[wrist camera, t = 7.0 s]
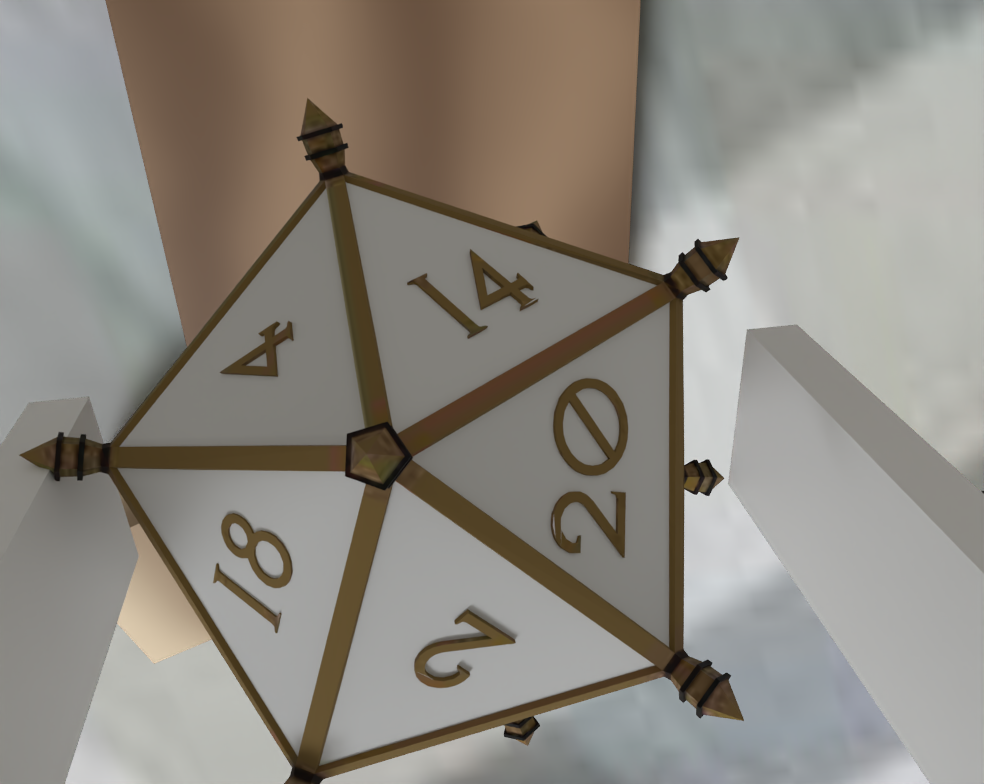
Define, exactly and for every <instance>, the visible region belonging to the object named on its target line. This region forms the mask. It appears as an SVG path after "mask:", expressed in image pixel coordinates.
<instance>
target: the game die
mask: <svg viewBox="0 0 984 784" xmlns="http://www.w3.org/2000/svg"><path fill="white" fill-rule="evenodd" d="M341 128H343V125H342V123H341V124H337V123H336V122H334V121H333V120H332V119H331V118H330V117H329V116H328V115H326V114H325V113H324V112H323V111H322V110H321V109H320V108H318V107H317V106H316V105H315V104H314V103H313V102H312V101H311V100H309V99H308V98H307V102H306V108H305V113H304V119H303V124H302V130H301V135H300V136H298V137H297V140H298V141H301V140H302V142H303V144H304V147H305V149H306V152H307V154H308V155H306V156H304V157H305V159H306V161H307V160H310V161H311V162H312V163H313V165H314V166H315V168H316V169H317V171H318V172H319V182H318V184H317V185H316V186H315V187H314V189H313V190H312V191H311V192H310V194H309V195H308V196H307V197H306V199H305V200H304V201H303V202H302V204H301V205H300V206H299V207H298V209H297V210H296V211H295V212H294V214H293V215H292V216H291V217H290V219H289V220H288V221H287V222H286V224H285V225H284V226H283V227H282V229H281V230H280V231H279V232H278V234H277V235H276V236H275V237H274V239H273V240H272V241H271V242H270V244H269V245H268V246H267V248H266V249H265V250H264V251H263V253H262V254H261V255H260V256H259V258H258V259H257V260H256V261H255V263H254V264H253V265H252V266H251V268H250V269H249V270H248V271H247V273H246V274H245V275H244V276H243V278H242V279H241V280H240V281H239V283H238V284H237V285H236V286H235V288H234V289H233V290H232V291H231V293H230V294H229V295H228V296H227V298H226V299H225V300H224V301H223V303H222V304H221V305H220V306H219V308H218V309H217V310H216V311H215V313H214V314H213V315H212V317H211V318H210V319H209V320H208V322H207V323H206V324H205V325H204V327H203V328H202V329H201V330H200V332H199V333H198V334H197V335H196V337H195V338H194V339H193V340H192V342H191V343H190V344H189V345H188V347H187V348H186V349H185V350H184V352H183V353H182V354H181V355H180V357H179V358H178V359H177V360H176V362H175V363H174V364H173V365H172V367H171V368H170V369H169V370H168V372H167V373H166V374H165V375H164V377H163V378H162V379H161V380H160V382H159V383H158V384H157V386H156V387H155V388H154V389H153V391H152V392H151V393H150V394H149V396H148V397H147V398H146V399H145V401H144V402H143V403H142V404H141V406H140V407H139V408H138V409H137V411H136V412H135V413H134V414H133V416H132V417H131V418H130V419H129V421H128V422H127V423H126V424H125V426H124V427H123V428H122V429H121V431H120V432H119V433H118V434H117V436H116V437H115V438H114V439H113V441H112V442H111V443H106V444H101V443H98V442H95V441H92V440H89V439H86V434H81V436H80V438H74V437H64V432H59V433H58V437H56V438H54V439H52V440H50V441H48V442H45V443H43V444H41V445H39V446H37V447H35V448H33V449H31V450H29V451H26V452H24V453H22V454H20V455H19V456H21V457H23V458H24V459H26V460H28V461H29V462H31V463H33V464H34V465H36V466H38V467H41V468H45V469H49V470H50V471H51V472H52V473H53V474H54V478H55V480H56V481H60V477H77V481H83V476H86V475H90V474H94V473H98V472H102V473H105V474H108V475H109V476H110V478H111V479H112V481H113V483H114V484H115V486H116V487H117V489H118V491H119V492H120V494H121V495H122V497H123V498H124V500H125V502H126V503H127V505H128V506H129V508H130V510H131V511H132V513H133V514H134V516H135V518H136V519H137V521H138V522H139V524H140V526H141V527H142V529H143V530H144V532H145V534H146V535H147V537H148V538H149V540H150V542H151V543H152V545H153V546H154V548H155V549H156V551H157V553H158V554H159V556H160V557H161V559H162V561H163V562H164V564H165V565H166V567H167V569H168V570H169V572H170V573H171V575H172V577H173V578H174V580H175V581H176V583H177V585H178V586H179V588H180V589H181V591H182V593H183V594H184V596H185V597H186V599H187V601H188V602H189V604H190V605H191V607H192V608H193V610H194V612H195V613H196V615H197V616H198V618H199V620H200V621H201V623H202V624H203V626H204V628H205V629H206V631H207V632H208V634H209V636H210V637H211V639H212V640H213V642H214V644H215V645H216V647H217V648H218V650H219V652H220V653H221V655H222V656H223V658H224V659H225V661H226V663H227V664H228V666H229V667H230V669H231V671H232V672H233V674H234V675H235V677H236V679H237V680H238V682H239V683H240V685H241V687H242V688H243V690H244V691H245V693H246V695H247V696H248V698H249V699H250V701H251V703H252V704H253V706H254V707H255V709H256V711H257V712H258V714H259V715H260V717H261V718H262V720H263V722H264V723H265V725H266V726H267V728H268V730H269V731H270V733H271V734H272V736H273V738H274V739H275V741H276V742H277V744H278V746H279V747H280V749H281V750H282V752H283V754H284V755H285V757H286V758H287V760H288V762H289V763H290V765H291V766H292V771H291V775H290V777H289V778H288V780H287V781H286V782H285V783H284V784H320V783H321V781H322V780H323V779H325V778H329V777H332V776H335V775H339V774H342V773H345V772H349V771H352V770H355V769H358V768H362V767H365V766H368V765H372V764H375V763H378V762H382V761H385V760H388V759H392V758H395V757H398V756H402V755H405V754H408V753H412V752H415V751H418V750H422V749H425V748H428V747H432V746H435V745H438V744H442V743H445V742H448V741H452V740H455V739H458V738H461V737H465V736H468V735H471V734H475V733H478V732H481V731H485V730H488V729H491V728H495V727H498V726H501V725H505V731H504V737H508V738H513V739H516V740H518V741H520V742H522V743H524V744H525V745H527V746H528V744H529V742H530V740H531V738H532V735H533V733H534V731H535V730H536V729H537V728H538V727H540V725H539V723H538V722H537V720H536V719H535V718H534V716H535V715H538V714H541V713H545V712H548V711H551V710H554V709H558V708H561V707H564V706H568V705H571V704H574V703H578V702H581V701H584V700H588V699H591V698H594V697H598V696H601V695H604V694H608V693H611V692H614V691H618V690H621V689H624V688H628V687H631V686H634V685H638V684H641V683H644V682H647V681H651V680H654V679H657V678H661V677H666V678H668V679H670V680H671V681H672V682H673V684H674V685H675V687H676V688H677V689H678V691H679V699H680V700H681V701H682V702H683V703H684V702H685V701H686V700H687V701H688V702H689V703H690V704H691V705H693V706H694V707H695V708H696V715H697V716H698V717H699V718H701V717H702V716H703V715H710V716H716V717H723V718H729V719H736V720H742V721H744V719H743V717H742V714H741V711H740V709H739V706H738V704H737V701H736V699H735V696H734V694H733V691H732V689H731V686H730V683H729V681H728V680H729V678H730V677H731V675H729V674H728V673H725V674H723V675H722V674H720V673H719V672H717V671H716V670H715V669H713V668H712V667H711V665H712V662H711V661H709V660H706V661H704V662H702V661H699V660H697V659H694V658H692V657H689V656H688V655H687V653H686V652H685V651H684V649H683V630H684V489H685V490H687V491H689V492H691V493H692V494H695V495H697V494H698V492H701V493H703V494H704V495H706V496H709V495H710V493H711V491H712V489H713V488H714V487H715V486H716V485H717V484H719V483H720V482H721V481H722V480H723V479H724V477H723V476H721V475H720V474H719V473H718V472H717V471H716V470H715V469H714V468H713V467H712V465H711V463H710V461H709V460H705V461H703V462H701V463H698V461H697V460H693V461H691V462H689V463H688V464H686V465H684V388H683V299H684V298H685V297H686V296H687V295H688V294H691V293H694V292H697V291H699V290H703V291H705V292H707V291H709V290H710V288H709V285H710V284H712V283H713V282H715V281H716V280H718V279H719V278H720V279H722V280H723V281H724V280H726V279H727V276H726V274H725V273H726V270H727V268H728V265H729V263H730V260H731V258H732V255H733V253H734V250H735V247H736V245H737V242H738V240H739V238H731V239H724V240H716V241H708V242H701V241H700V240H699V239H697V240H696V241H695V247H694V248H693V249H692V250H691V251H689V252H688V253H687V254H686V255H685V254H684V253H683V252H682V253H681V254H680V255H679V262H678V263H677V265H676V266H675V268H674V269H673V270H672V272H670V273H668V274H665V275H661V274H658V273H655V272H652V271H649V270H646V269H643V268H640V267H637V266H634V265H631V264H628V263H625V262H622V261H619V260H616V259H613V258H610V257H607V256H604V255H601V254H597V253H594V252H591V251H588V250H585V249H582V248H579V247H576V246H573V245H570V244H567V243H564V242H561V241H558V240H555V239H552V238H549V237H547V236H546V235H545V234H544V233H543V232H542V230H541V228H540V225H539V223H538V221H534V222H532V223H530V224H527V225H522V226H516V227H515V226H512V225H509V224H506V223H503V222H500V221H497V220H494V219H491V218H488V217H485V216H482V215H479V214H476V213H473V212H470V211H467V210H463V209H460V208H457V207H454V206H451V205H448V204H445V203H442V202H439V201H436V200H433V199H430V198H427V197H424V196H421V195H418V194H415V193H412V192H409V191H406V190H403V189H400V188H396V187H393V186H390V185H387V184H384V183H381V182H378V181H375V180H372V179H369V178H366V177H363V176H360V175H357V174H354V173H351V172H349V171H348V169H347V167H346V166H345V149H347V148H349V147H348V144H347V143H345V144H343V141H342V137H341V133H340V130H339V129H341Z"/></svg>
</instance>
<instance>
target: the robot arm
mask: <svg viewBox="0 0 984 784" xmlns="http://www.w3.org/2000/svg"><path fill="white" fill-rule="evenodd" d="M59 432H64V437H74V438H80V436H81V434H86V439H89V440H92V441H95V442H98V443H101V444H104V443H103V440H102V437H101V434H100V431H99V427H98V424H97V421H96V418H95V415H94V411H93V408H92V405H91V402H90V399H89V397H81V398H71V399H61V400H51V401H41V402H32V403H28V405H27V407H26V408H25V410H24V411H23V413H22V414H21V416H20V417H19V419H18V420H17V422H16V423H15V425H14V426H13V428H12V429H11V431H10V432H9V434H8V436H7V437H6V439H5V440H4V442H3V443H2V445H1V446H0V784H65V781H66V778H67V775H68V772H69V769H70V766H71V763H72V760H73V756H74V753H75V750H76V747H77V744H78V741H79V738H80V735H81V732H82V729H83V726H84V723H85V720H86V717H87V713H88V710H89V707H90V704H91V701H92V698H93V695H94V692H95V689H96V686H97V683H98V680H99V677H100V674H101V670H102V667H103V664H104V661H105V658H106V655H107V652H108V649H109V646H110V643H111V640H112V637H113V634H114V631H115V627H116V624H117V621H118V618H119V615H120V612H121V609H122V606H123V603H124V600H125V597H126V594H127V591H128V588H129V585H130V581H131V578H132V575H133V572H134V569H135V566H136V563H137V560H138V557H139V555H138V552H137V549H136V545H135V542H134V539H133V536H132V533H131V529H130V526H129V523H128V520H127V517H126V513H125V510H124V507H123V504H122V501H121V498H120V494H119V491H118V489H117V487H116V486H115V484H114V483H113V481H112V479H111V478H110V476H109V475H108V474H105V473H102V472H98V473H94V474H90V475H86V476H83V481H77V477H60V481H56V480H55V478H54V474H53V473H52V472H51V471H50V470H49V469H45V468H41V467H38V466H36V465H34V464H33V463H31V462H29V461H28V460H26V459H24V458H23V457H21V456H19V455H20V454H22V453H24V452H26V451H29V450H31V449H33V448H35V447H37V446H39V445H41V444H43V443H45V442H48V441H50V440H52V439H54V438H56V437H58V433H59ZM728 484H729V486H730V487H731V489H732V490H733V492H734V493H735V495H736V496H737V498H738V499H739V501H740V502H741V503H742V505H743V506H744V508H745V509H746V511H747V512H748V514H749V515H750V517H751V518H752V520H753V521H754V523H755V524H756V526H757V527H758V529H759V530H760V532H761V533H762V535H763V536H764V538H765V539H766V541H767V542H768V544H769V545H770V547H771V548H772V550H773V551H774V553H775V554H776V556H777V557H778V558H779V560H780V561H781V563H782V564H783V566H784V567H785V569H786V570H787V572H788V573H789V575H790V576H791V578H792V579H793V581H794V582H795V584H796V585H797V587H798V588H799V590H800V591H801V593H802V594H803V596H804V597H805V599H806V600H807V602H808V603H809V605H810V606H811V608H812V609H813V610H814V612H815V613H816V615H817V616H818V618H819V619H820V621H821V622H822V624H823V625H824V627H825V628H826V630H827V631H828V633H829V634H830V636H831V637H832V639H833V640H834V642H835V643H836V645H837V646H838V648H839V649H840V651H841V652H842V654H843V655H844V657H845V658H846V660H847V661H848V663H849V664H850V665H851V667H852V668H853V670H854V671H855V673H856V674H857V676H858V677H859V679H860V680H861V682H862V683H863V685H864V686H865V688H866V689H867V691H868V692H869V694H870V695H871V697H872V698H873V700H874V701H875V703H876V704H877V706H878V707H879V709H880V710H881V712H882V713H883V715H884V716H885V717H886V719H887V720H888V722H889V723H890V725H891V726H892V728H893V729H894V731H895V732H896V734H897V735H898V737H899V738H900V740H901V741H902V743H903V744H904V746H905V747H906V749H907V750H908V752H909V753H910V755H911V756H912V758H913V759H914V761H915V762H916V764H917V765H918V767H919V768H920V770H921V771H922V772H923V774H924V775H925V777H926V778H927V780H928V781H929V783H930V784H984V491H980V490H979V489H978V488H977V487H976V486H975V485H973V484H972V483H971V482H970V481H969V480H968V479H967V478H966V477H965V476H963V475H962V474H961V473H960V472H959V471H958V470H957V469H956V468H955V467H954V466H952V465H951V464H950V463H949V462H948V461H947V460H946V459H945V458H944V457H942V456H941V455H940V454H939V453H938V452H937V451H936V450H935V449H934V448H933V447H931V446H930V445H929V444H928V443H927V442H926V441H925V440H924V439H923V438H921V437H920V436H919V435H918V434H917V433H916V432H915V431H914V430H913V429H912V428H910V427H909V426H908V425H907V424H906V423H905V422H904V421H903V420H902V419H900V418H899V417H898V416H897V415H896V414H895V413H894V412H893V411H892V410H891V409H889V408H888V407H887V406H886V405H885V404H884V403H883V402H882V401H881V400H879V399H878V398H877V397H876V396H875V395H874V394H873V393H872V392H871V391H870V390H868V389H867V388H866V387H865V386H864V385H863V384H862V383H861V382H860V381H858V380H857V379H856V378H855V377H854V376H853V375H852V374H851V373H850V372H849V371H847V370H846V369H845V368H844V367H843V366H842V365H841V364H840V363H839V362H837V361H836V360H835V359H834V358H833V357H832V356H831V355H830V354H829V353H828V352H826V351H825V350H824V349H823V348H822V347H821V346H820V345H819V344H818V343H816V342H815V341H814V340H813V339H812V338H811V337H810V336H809V335H808V334H807V333H805V332H804V331H803V330H802V329H801V328H800V327H799V326H798V325H788V326H778V327H769V328H759V329H749V330H747V334H746V342H745V350H744V358H743V367H742V375H741V383H740V391H739V399H738V408H737V416H736V424H735V432H734V440H733V449H732V457H731V465H730V473H729V481H728Z"/></svg>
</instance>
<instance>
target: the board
mask: <svg viewBox="0 0 984 784" xmlns="http://www.w3.org/2000/svg"><path fill="white" fill-rule="evenodd" d="M640 1H641V0H106V5H107V9H108V13H109V17H110V22H111V26H112V30H113V34H114V39H115V43H116V47H117V51H118V56H119V60H120V64H121V68H122V73H123V77H124V81H125V85H126V90H127V94H128V98H129V102H130V107H131V111H132V115H133V119H134V124H135V128H136V132H137V136H138V141H139V145H140V149H141V153H142V158H143V162H144V166H145V170H146V175H147V179H148V183H149V187H150V192H151V196H152V200H153V204H154V209H155V213H156V217H157V221H158V226H159V230H160V234H161V238H162V243H163V247H164V251H165V255H166V260H167V264H168V268H169V273H170V277H171V281H172V285H173V290H174V294H175V298H176V302H177V307H178V311H179V315H180V319H181V324H182V328H183V332H184V336H185V341H186V345H187V347H188V345H189V344H190V343H191V342H192V340H193V339H194V338H195V337H196V335H197V334H198V333H199V332H200V330H201V329H202V328H203V327H204V325H205V324H206V323H207V322H208V320H209V319H210V318H211V317H212V315H213V314H214V313H215V311H216V310H217V309H218V308H219V306H220V305H221V304H222V303H223V301H224V300H225V299H226V298H227V296H228V295H229V294H230V293H231V291H232V290H233V289H234V288H235V286H236V285H237V284H238V283H239V281H240V280H241V279H242V278H243V276H244V275H245V274H246V273H247V271H248V270H249V269H250V268H251V266H252V265H253V264H254V263H255V261H256V260H257V259H258V258H259V256H260V255H261V254H262V253H263V251H264V250H265V249H266V248H267V246H268V245H269V244H270V242H271V241H272V240H273V239H274V237H275V236H276V235H277V234H278V232H279V231H280V230H281V229H282V227H283V226H284V225H285V224H286V222H287V221H288V220H289V219H290V217H291V216H292V215H293V214H294V212H295V211H296V210H297V209H298V207H299V206H300V205H301V204H302V202H303V201H304V200H305V199H306V197H307V196H308V195H309V194H310V192H311V191H312V190H313V189H314V187H315V186H316V185H317V184H318V182H319V172H318V171H317V169H316V168H315V166H314V165H313V163H312V162H311V161H310V160H307V161H306V159H305V157H304V156H306V155H308V154H307V152H306V149H305V147H304V144H303V142H302V140H301V141H298V140H297V137H298V136H300V135H301V130H302V124H303V119H304V113H305V108H306V102H307V98H308V99H309V100H311V101H312V102H313V103H314V104H315V105H316V106H317V107H318V108H320V109H321V110H322V111H323V112H324V113H325V114H326V115H328V116H329V117H330V118H331V119H332V120H333V121H334V122H336V123H337V124H341V123H342V125H343V128H341V129H339V130H340V133H341V137H342V141H343V144H345V143H347V144H348V147H349V148H347V149H345V166H346V167H347V169H348V171H349V172H351V173H354V174H357V175H360V176H363V177H366V178H369V179H372V180H375V181H378V182H381V183H384V184H387V185H390V186H393V187H396V188H400V189H403V190H406V191H409V192H412V193H415V194H418V195H421V196H424V197H427V198H430V199H433V200H436V201H439V202H442V203H445V204H448V205H451V206H454V207H457V208H460V209H463V210H467V211H470V212H473V213H476V214H479V215H482V216H485V217H488V218H491V219H494V220H497V221H500V222H503V223H506V224H509V225H512V226H515V227H516V226H522V225H527V224H530V223H532V222H534V221H538V223H539V225H540V228H541V230H542V232H543V233H544V234H545V235H546V236H547V237H549V238H552V239H555V240H558V241H561V242H564V243H567V244H570V245H573V246H576V247H579V248H582V249H585V250H588V251H591V252H594V253H597V254H601V255H604V256H607V257H610V258H613V259H616V260H619V261H622V262H625V263H628V260H629V239H630V217H631V195H632V174H633V152H634V131H635V109H636V88H637V66H638V44H639V23H640Z"/></svg>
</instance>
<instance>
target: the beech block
mask: <svg viewBox="0 0 984 784" xmlns="http://www.w3.org/2000/svg"><path fill="white" fill-rule="evenodd" d="M119 494H120V492H119ZM120 498H121V501H122V504H123V507H124V510H125V513H126V517H127V520H128V523H129V526H130V529H131V533H132V536H133V539H134V542H135V545H136V549H137V552H138V555H139V557H138V560H137V563H136V566H135V569H134V572H133V575H132V578H131V581H130V585H129V588H128V591H127V594H126V597H125V600H124V603H123V606H122V609H121V612H120V615H119V618H118V621H117V624H118V625H119V626H120V627H121V628H122V629H123V630H124V631H125V632H126V634H127V635H128V636H129V637H130V638H131V639H132V640H133V641H134V642H135V643H136V645H137V646H138V647H139V648H140V649H141V650H142V651H143V652H144V653H145V654H146V656H147V657H148V658H149V659H150V660H151V661H152V662H153V663H154V664H155V663H157V662H159V661H162V660H164V659H166V658H169V657H171V656H174V655H176V654H178V653H181V652H183V651H185V650H188V649H190V648H192V647H195V646H197V645H200V644H202V643H204V642H207V641H209V640H211V637H210V636H209V634H208V632H207V631H206V629H205V628H204V626H203V624H202V623H201V621H200V620H199V618H198V616H197V615H196V613H195V612H194V610H193V608H192V607H191V605H190V604H189V602H188V601H187V599H186V597H185V596H184V594H183V593H182V591H181V589H180V588H179V586H178V585H177V583H176V581H175V580H174V578H173V577H172V575H171V573H170V572H169V570H168V569H167V567H166V565H165V564H164V562H163V561H162V559H161V557H160V556H159V554H158V553H157V551H156V549H155V548H154V546H153V545H152V543H151V542H150V540H149V538H148V537H147V535H146V534H145V532H144V530H143V529H142V527H141V526H140V524H139V522H138V521H137V519H136V518H135V516H134V514H133V513H132V511H131V510H130V508H129V506H128V505H127V503H126V502H125V500H124V498H123V497H122V495H121V494H120Z"/></svg>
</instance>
